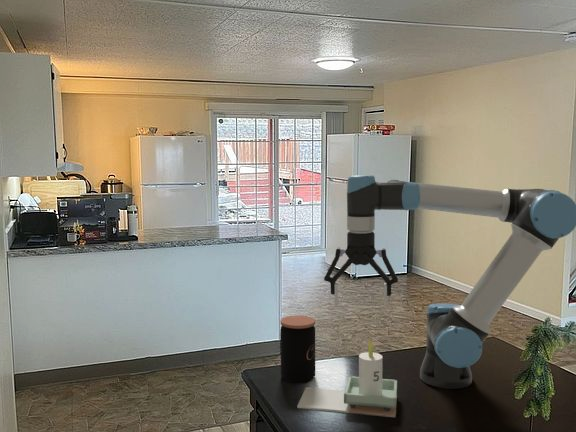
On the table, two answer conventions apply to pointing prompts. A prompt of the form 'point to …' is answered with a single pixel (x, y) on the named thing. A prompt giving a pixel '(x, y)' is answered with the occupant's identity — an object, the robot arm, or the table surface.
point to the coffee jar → (297, 349)
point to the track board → (338, 403)
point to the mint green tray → (384, 401)
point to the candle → (370, 372)
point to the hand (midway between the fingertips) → (360, 306)
